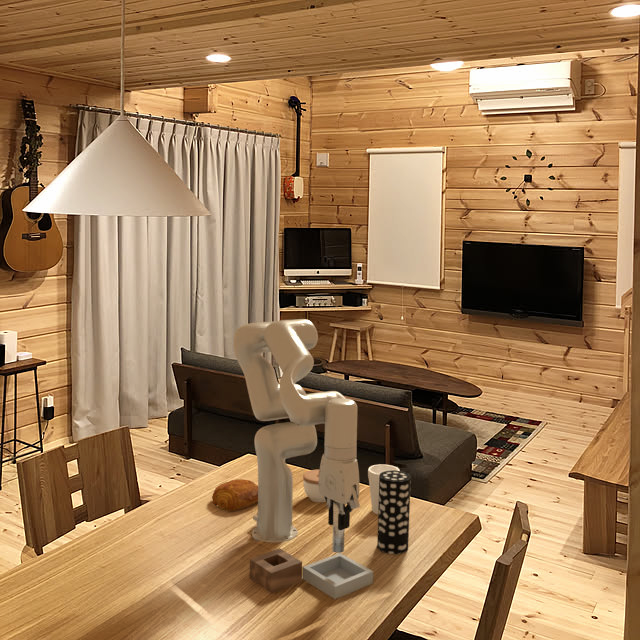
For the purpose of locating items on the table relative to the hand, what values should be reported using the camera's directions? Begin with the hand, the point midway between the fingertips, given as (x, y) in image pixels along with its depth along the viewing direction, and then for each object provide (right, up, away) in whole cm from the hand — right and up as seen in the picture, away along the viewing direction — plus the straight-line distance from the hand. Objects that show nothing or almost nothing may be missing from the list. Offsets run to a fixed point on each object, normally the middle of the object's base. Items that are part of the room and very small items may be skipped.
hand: (338, 525), depth 170 cm
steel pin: (0, -6, +1) cm, 6 cm away
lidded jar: (-5, -8, +55) cm, 56 cm away
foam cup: (+15, -9, +47) cm, 50 cm away
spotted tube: (+15, -13, +23) cm, 30 cm away
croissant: (-30, -8, +52) cm, 60 cm away
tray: (0, -15, +2) cm, 15 cm away
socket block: (-15, -15, +2) cm, 21 cm away
